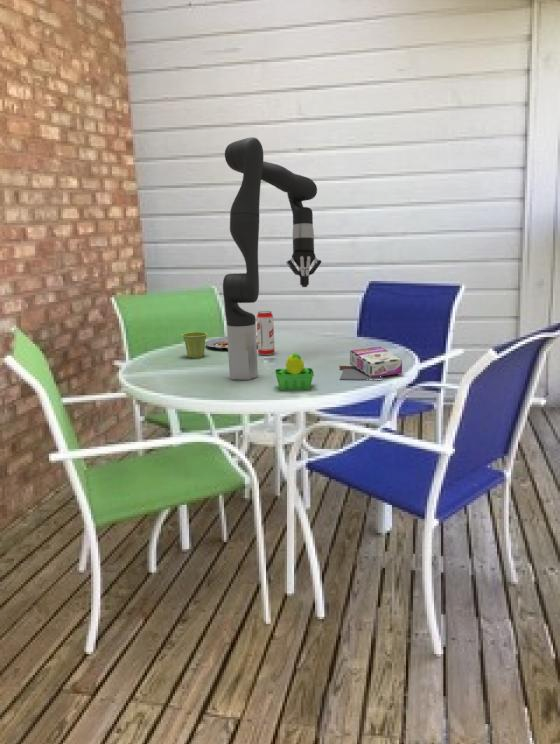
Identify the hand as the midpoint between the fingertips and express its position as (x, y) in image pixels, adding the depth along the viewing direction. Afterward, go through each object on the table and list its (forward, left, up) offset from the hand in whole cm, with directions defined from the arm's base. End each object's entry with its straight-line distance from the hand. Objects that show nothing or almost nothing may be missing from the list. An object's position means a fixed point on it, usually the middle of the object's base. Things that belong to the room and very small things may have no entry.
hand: (304, 286), depth 232 cm
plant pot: (-2, +42, -26) cm, 49 cm away
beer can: (+3, +16, -26) cm, 30 cm away
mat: (-28, -22, -25) cm, 43 cm away
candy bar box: (-16, -22, -21) cm, 35 cm away
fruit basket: (-45, -3, -26) cm, 51 cm away
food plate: (+20, +32, -26) cm, 46 cm away
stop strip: (-20, -22, -25) cm, 39 cm away
